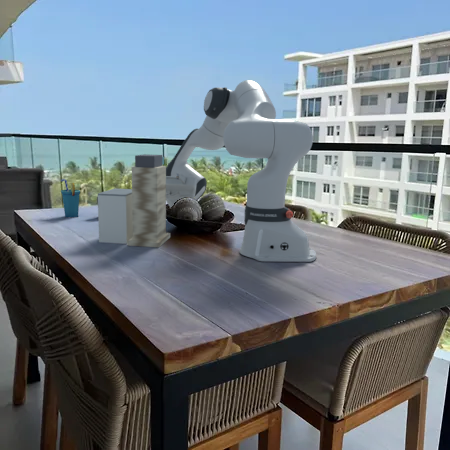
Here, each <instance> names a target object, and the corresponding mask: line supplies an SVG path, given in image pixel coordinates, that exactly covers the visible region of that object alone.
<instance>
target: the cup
mask: <svg viewBox="0 0 450 450" xmlns="http://www.w3.org/2000/svg"><path fill="white" fill-rule="evenodd" d="M60 182H64V185H65V189H61V190H60V193H61V195H62V196H61V197H62V201H63V210H64V211H63V212H64V217H65V218H68V217H73V218H78V217H79V211H80V210H79V208H80V205H79V204H80V194H81V190H80V189H76V187H75V186H76V185H75V182H72V183H71V187H70V189H69V186H68V181H67V179H66V178H62V179H60Z"/></svg>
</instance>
